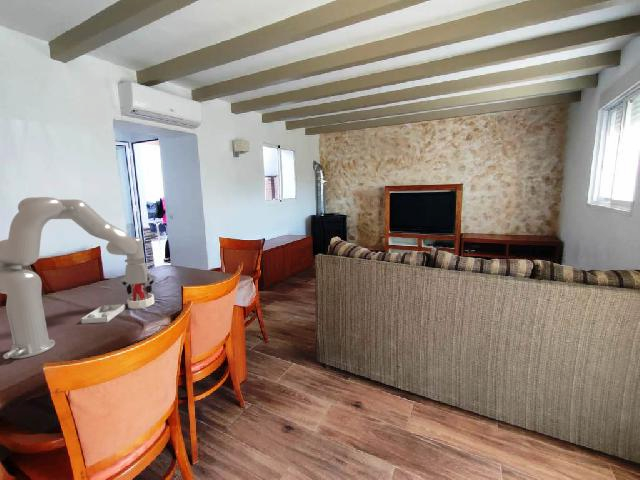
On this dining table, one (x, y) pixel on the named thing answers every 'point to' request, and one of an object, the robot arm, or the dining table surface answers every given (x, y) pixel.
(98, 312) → the parts tray
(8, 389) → the dining table surface
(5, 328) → the dining table surface
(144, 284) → the soda can
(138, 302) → the bowl
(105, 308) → the pebble
